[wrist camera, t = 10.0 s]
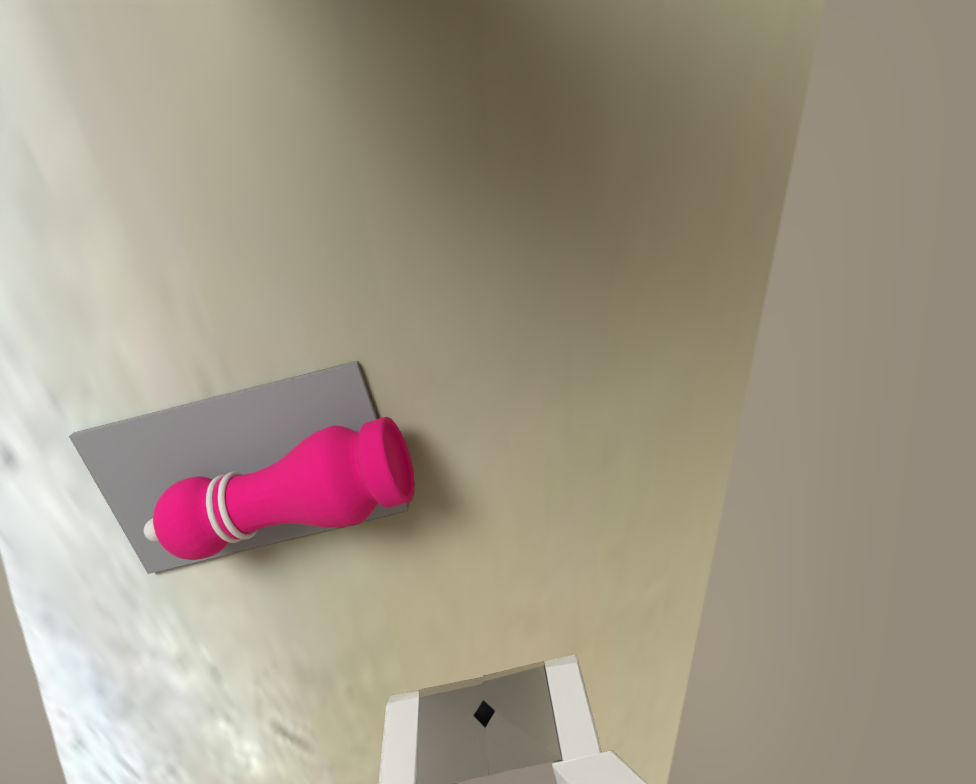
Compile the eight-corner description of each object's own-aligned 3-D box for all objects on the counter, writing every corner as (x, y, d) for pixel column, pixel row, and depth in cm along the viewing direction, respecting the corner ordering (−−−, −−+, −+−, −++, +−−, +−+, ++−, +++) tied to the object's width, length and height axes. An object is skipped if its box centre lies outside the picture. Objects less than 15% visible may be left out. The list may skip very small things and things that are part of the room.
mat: (357, 360, 45) (356, 363, 44) (408, 506, 50) (407, 510, 49) (73, 432, 45) (68, 436, 45) (151, 569, 50) (148, 573, 50)
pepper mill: (386, 392, 45) (143, 466, 47) (373, 443, 38) (91, 526, 40) (420, 470, 48) (191, 537, 50) (413, 530, 41) (150, 603, 43)
